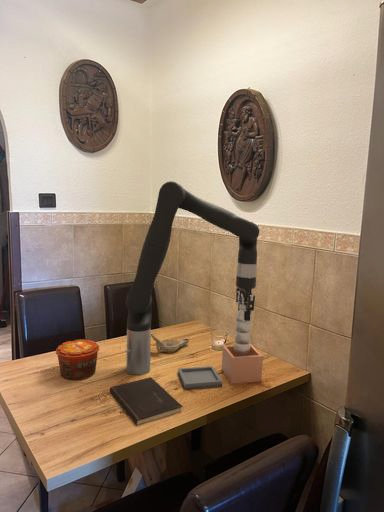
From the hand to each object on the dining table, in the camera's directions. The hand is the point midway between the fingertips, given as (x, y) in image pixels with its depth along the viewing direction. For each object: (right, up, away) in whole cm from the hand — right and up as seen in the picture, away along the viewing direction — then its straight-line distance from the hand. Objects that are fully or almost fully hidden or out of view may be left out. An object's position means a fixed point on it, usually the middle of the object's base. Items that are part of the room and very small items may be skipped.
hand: (243, 317), depth 143 cm
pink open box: (-1, -23, +3) cm, 23 cm away
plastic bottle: (-1, -15, +2) cm, 15 cm away
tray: (-17, -23, -1) cm, 29 cm away
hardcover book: (-36, -26, -18) cm, 48 cm away
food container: (-64, -22, +1) cm, 67 cm away
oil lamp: (-29, -19, +26) cm, 44 cm away
